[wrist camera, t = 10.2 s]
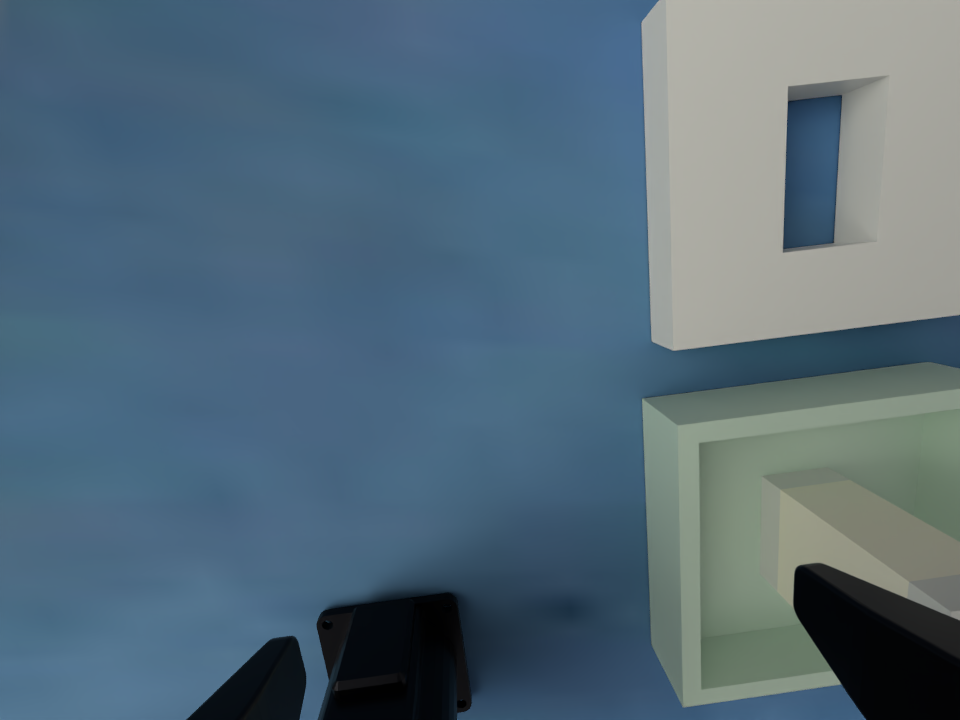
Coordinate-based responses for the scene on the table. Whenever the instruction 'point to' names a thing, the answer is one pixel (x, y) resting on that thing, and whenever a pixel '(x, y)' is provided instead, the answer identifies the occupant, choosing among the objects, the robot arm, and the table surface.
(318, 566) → the table surface
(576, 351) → the table surface
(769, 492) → the block
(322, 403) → the table surface
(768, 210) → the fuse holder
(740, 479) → the parts tray
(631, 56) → the table surface
